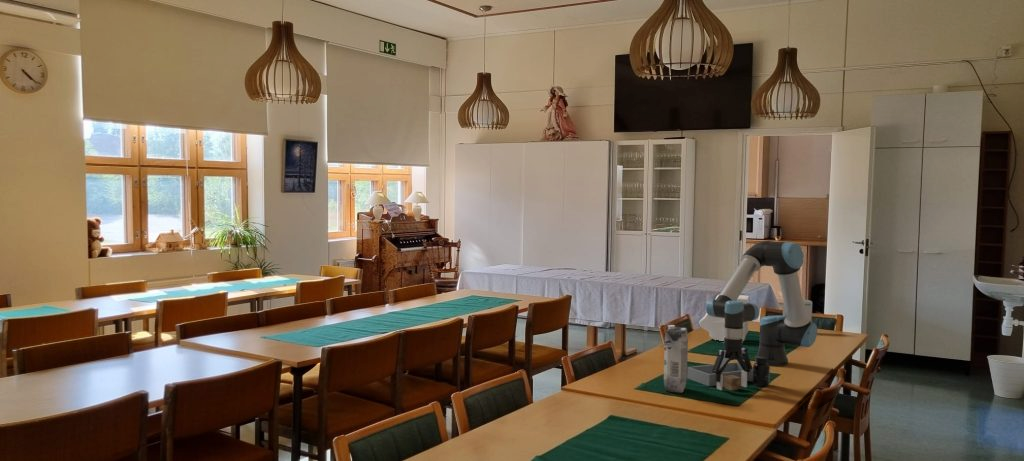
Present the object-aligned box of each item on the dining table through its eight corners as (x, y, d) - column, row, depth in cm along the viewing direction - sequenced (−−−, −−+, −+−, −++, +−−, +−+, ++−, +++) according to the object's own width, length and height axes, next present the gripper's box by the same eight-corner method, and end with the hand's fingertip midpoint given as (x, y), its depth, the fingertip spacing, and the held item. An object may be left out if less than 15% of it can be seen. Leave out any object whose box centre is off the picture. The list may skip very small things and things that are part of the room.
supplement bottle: (770, 387, 308) (771, 359, 307) (753, 386, 309) (754, 358, 308) (768, 383, 314) (768, 356, 314) (751, 382, 316) (752, 355, 315)
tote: (735, 372, 333) (736, 362, 333) (758, 380, 319) (759, 369, 319) (687, 378, 321) (687, 367, 321) (708, 386, 308) (709, 374, 308)
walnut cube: (732, 386, 308) (732, 375, 308) (740, 389, 304) (740, 377, 304) (723, 387, 306) (723, 376, 306) (731, 390, 302) (731, 378, 302)
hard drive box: (784, 333, 435) (785, 300, 434) (781, 331, 442) (782, 298, 442) (811, 334, 432) (812, 301, 431) (808, 332, 440) (809, 299, 439)
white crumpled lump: (744, 345, 395) (746, 299, 394) (697, 339, 411) (698, 295, 410) (756, 340, 412) (757, 295, 411) (710, 334, 428) (711, 291, 427)
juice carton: (687, 387, 305) (688, 324, 304) (684, 394, 295) (686, 328, 294) (665, 385, 308) (667, 323, 307) (662, 391, 298) (664, 327, 297)
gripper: (749, 334, 313) (748, 383, 314) (704, 338, 302) (702, 388, 303) (762, 337, 306) (760, 387, 307) (716, 341, 296) (714, 393, 297)
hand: (731, 388), depth 305 cm, fingers open, 12 cm apart
